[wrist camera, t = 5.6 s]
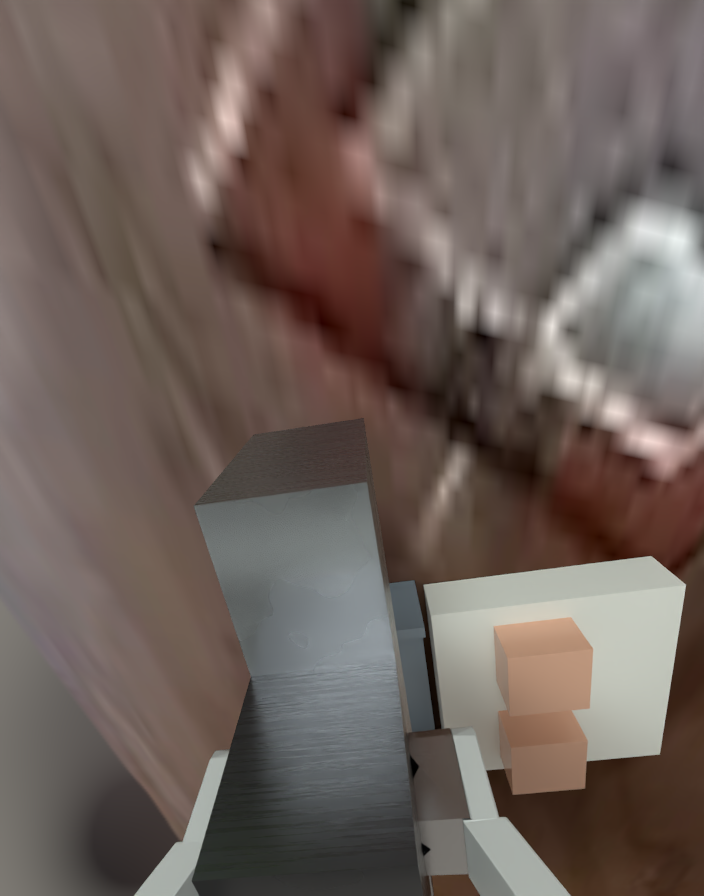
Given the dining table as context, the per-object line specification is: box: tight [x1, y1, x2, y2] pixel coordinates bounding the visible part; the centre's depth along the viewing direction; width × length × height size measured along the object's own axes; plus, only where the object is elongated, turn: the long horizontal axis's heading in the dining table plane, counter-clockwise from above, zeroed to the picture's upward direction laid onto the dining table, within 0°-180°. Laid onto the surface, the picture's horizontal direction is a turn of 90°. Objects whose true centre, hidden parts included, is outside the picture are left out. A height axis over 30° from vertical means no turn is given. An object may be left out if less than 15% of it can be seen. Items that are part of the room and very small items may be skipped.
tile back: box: [498, 710, 588, 795], centre depth 27 cm, size 5×5×2 cm
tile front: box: [493, 617, 593, 717], centre depth 25 cm, size 5×5×2 cm
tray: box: [389, 580, 435, 732], centre depth 29 cm, size 10×17×4 cm, turn 9°
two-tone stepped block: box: [192, 418, 434, 896], centre depth 9 cm, size 3×14×7 cm, turn 9°
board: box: [423, 556, 686, 770], centre depth 29 cm, size 16×16×3 cm
